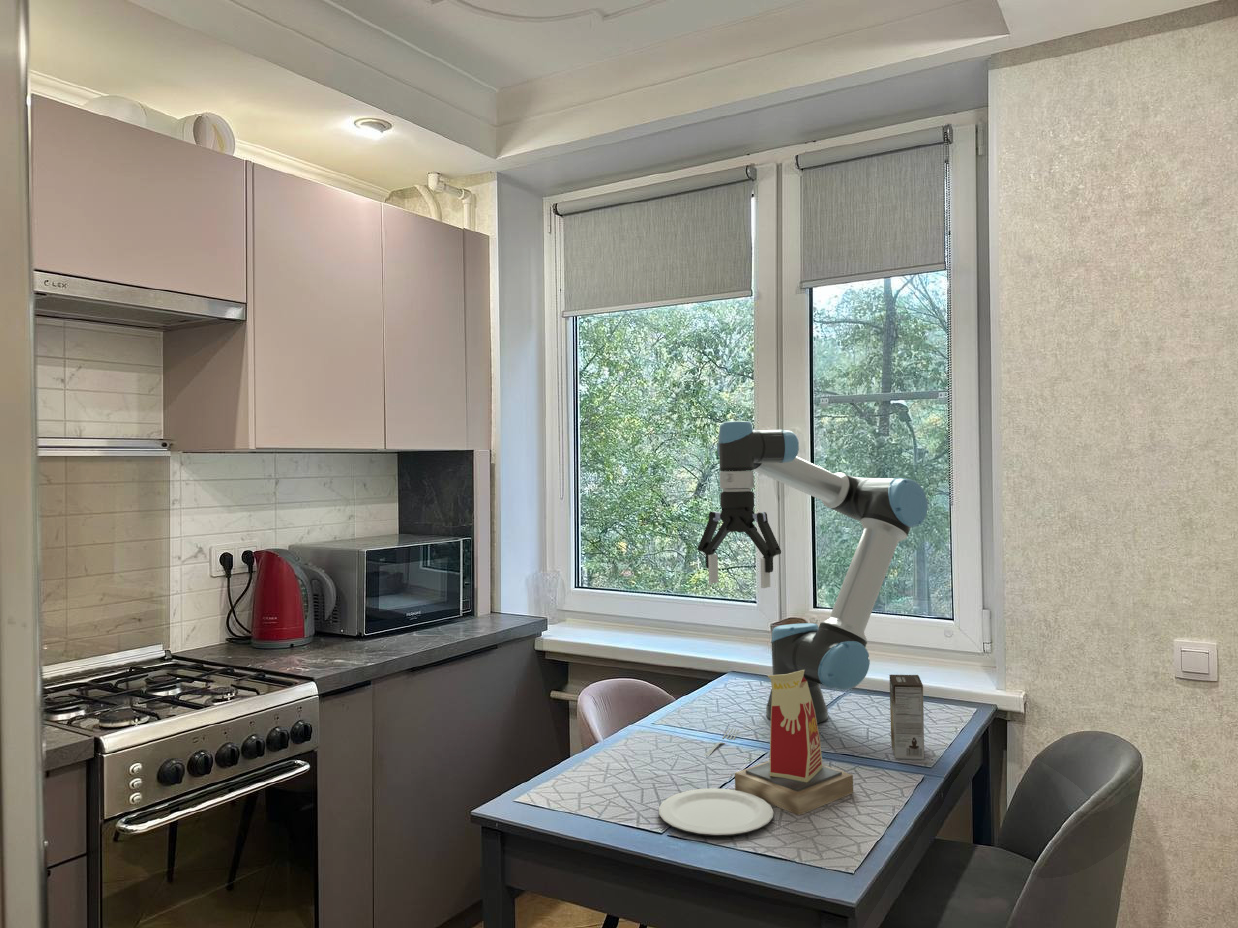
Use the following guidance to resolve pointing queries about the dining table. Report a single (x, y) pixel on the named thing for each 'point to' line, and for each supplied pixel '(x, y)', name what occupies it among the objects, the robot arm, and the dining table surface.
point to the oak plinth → (794, 788)
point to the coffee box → (907, 716)
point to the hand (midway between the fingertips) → (739, 585)
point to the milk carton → (793, 729)
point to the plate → (716, 812)
